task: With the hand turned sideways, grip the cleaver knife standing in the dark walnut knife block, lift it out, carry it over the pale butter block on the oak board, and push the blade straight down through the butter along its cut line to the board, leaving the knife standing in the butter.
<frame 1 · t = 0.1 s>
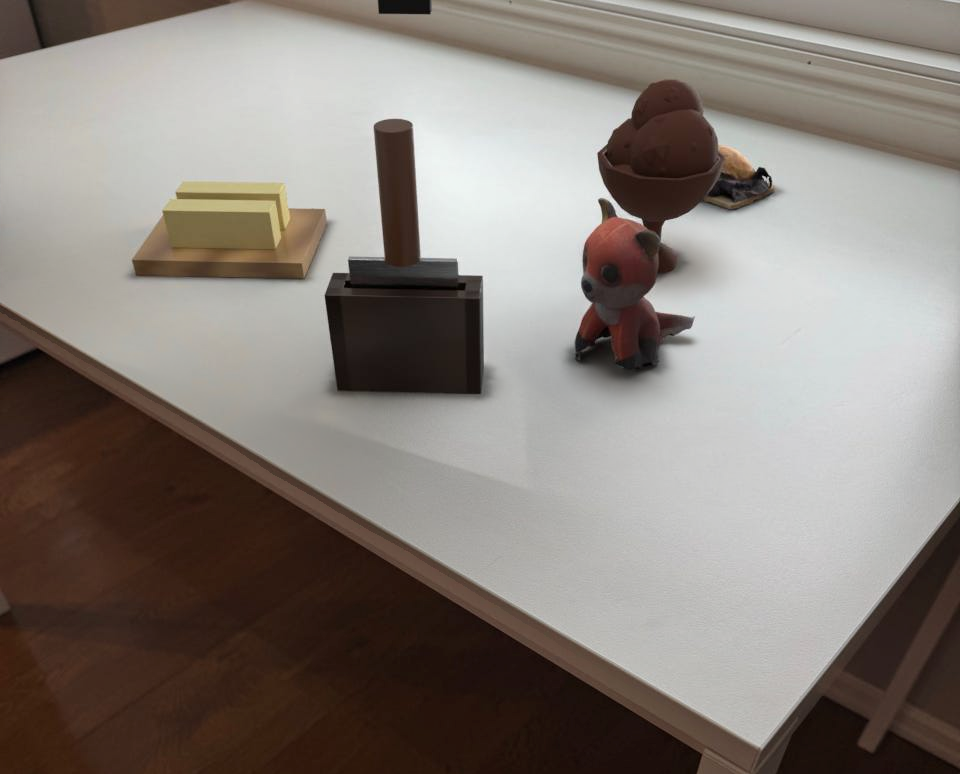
stuffed fox: (634, 355, 80), on the table
cleaver knife: (403, 265, 70), in the knife block
knife block: (411, 380, 77), on the table
ice cream bowl: (648, 262, 91), on the table
tan mound on tray: (714, 188, 103), on the table
butter: (232, 233, 93), resting on board
board: (235, 248, 94), on the table
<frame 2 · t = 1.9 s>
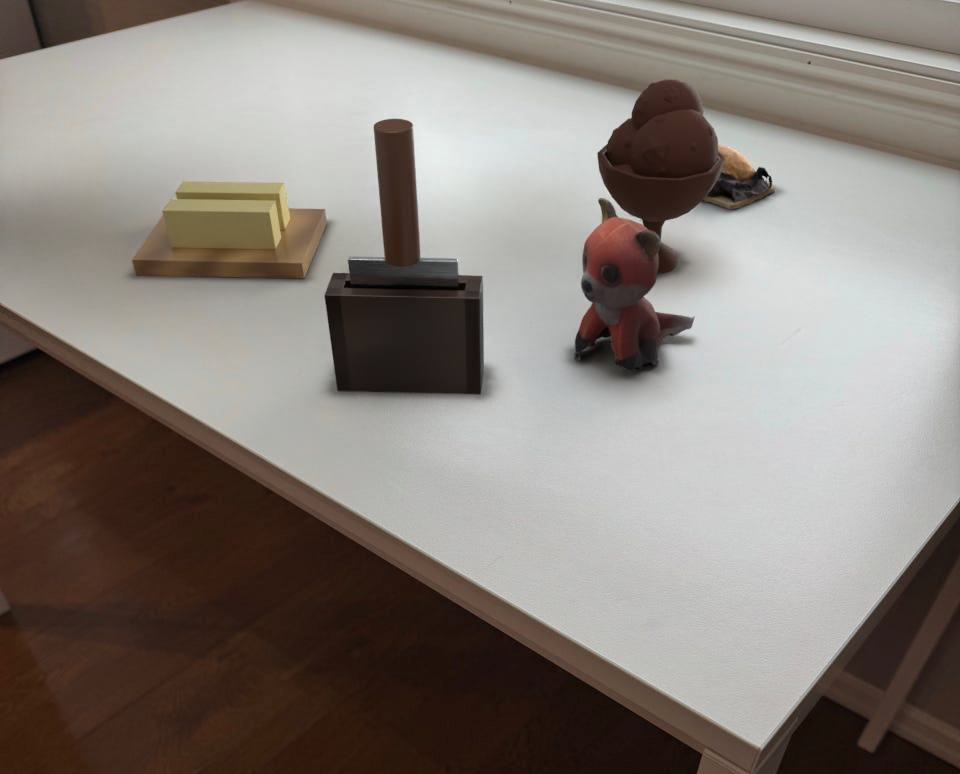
nothing on the table moved.
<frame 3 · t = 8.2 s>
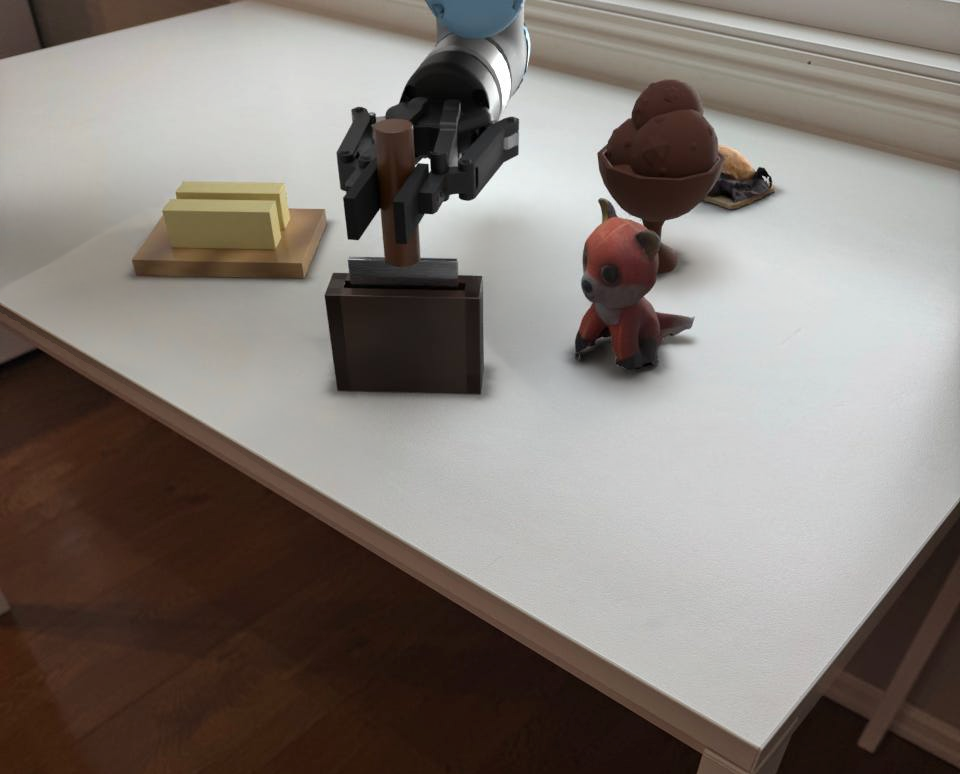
hand: (375, 221, 63), 15 cm above the table, tool horizontal, fingers closed on cleaver knife, 3 cm apart
cleaver knife: (403, 265, 70), in the knife block, touching gripper
everything else where it was.
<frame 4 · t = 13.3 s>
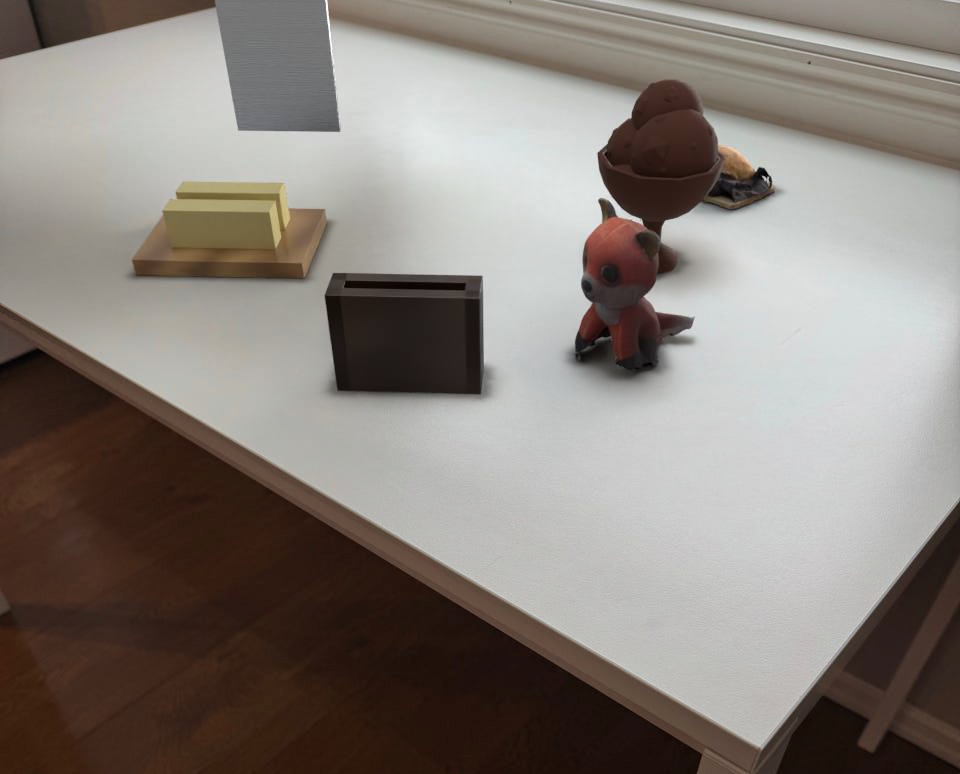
when the fingers open (16 cm above the table, at t = 18.3 s): cleaver knife stays where it is, resting on board.
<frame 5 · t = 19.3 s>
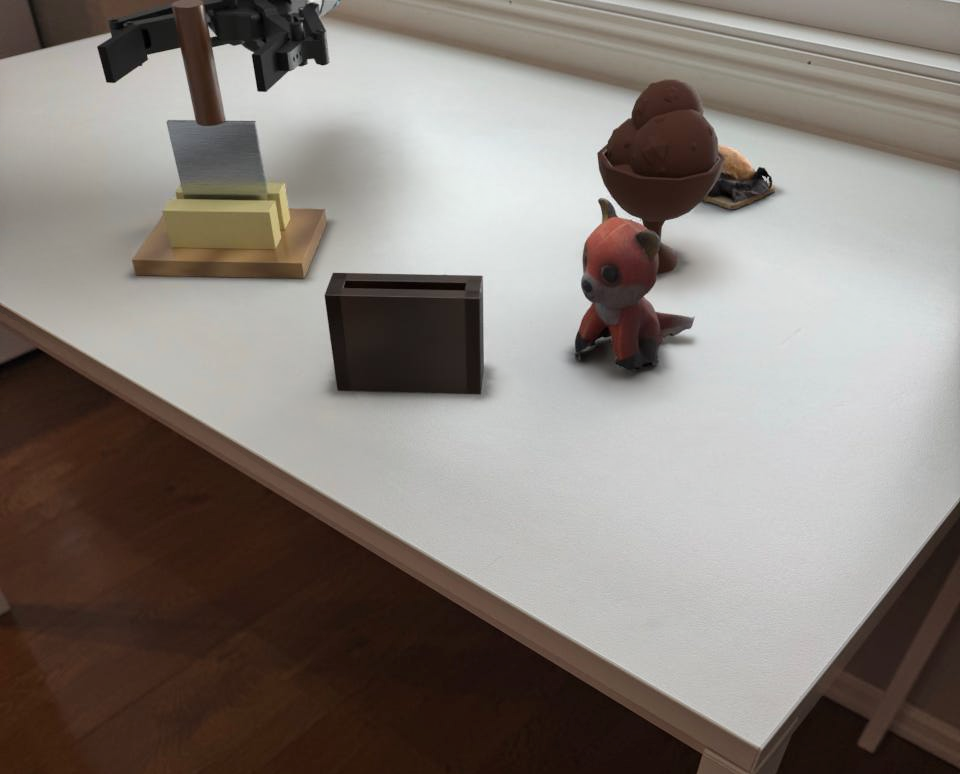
hand: (181, 69, 80), 17 cm above the table, tool horizontal, fingers open, 13 cm apart
cleaver knife: (212, 127, 86), on the board, point 11 cm above the table
everything else where it was.
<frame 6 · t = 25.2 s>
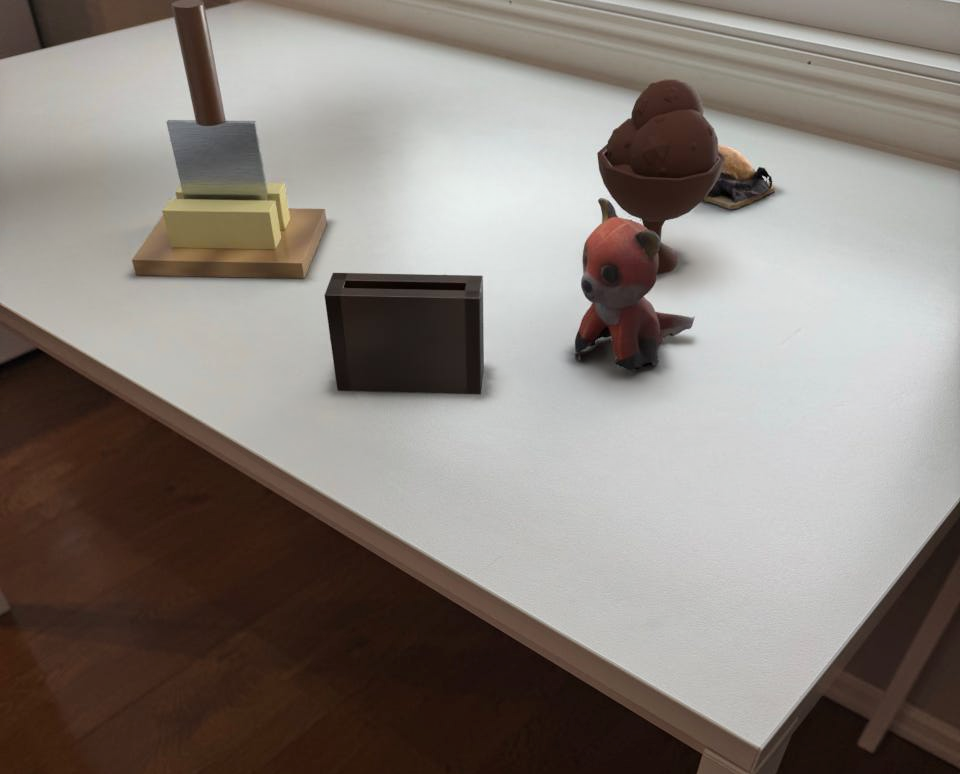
nothing on the table moved.
at the end: cleaver knife 0.1 cm off-centre on the butter, point 9.5 cm above the butter's base; cleaver knife tilted 0°; the gripper is holding nothing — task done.
